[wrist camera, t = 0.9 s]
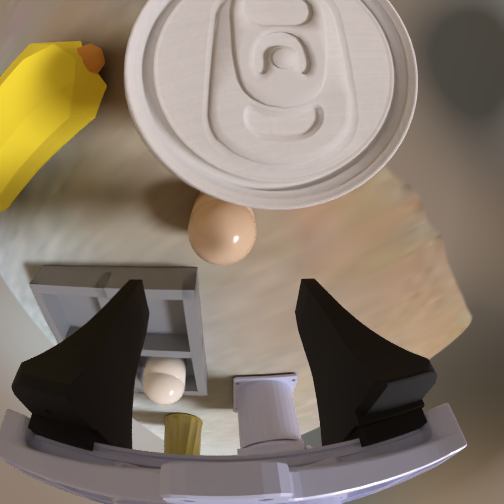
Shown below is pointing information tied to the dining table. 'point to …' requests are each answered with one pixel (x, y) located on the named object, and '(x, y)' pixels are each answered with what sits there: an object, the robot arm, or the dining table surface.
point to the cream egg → (164, 379)
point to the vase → (182, 434)
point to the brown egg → (221, 230)
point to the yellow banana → (44, 107)
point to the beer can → (271, 95)
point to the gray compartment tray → (159, 303)
